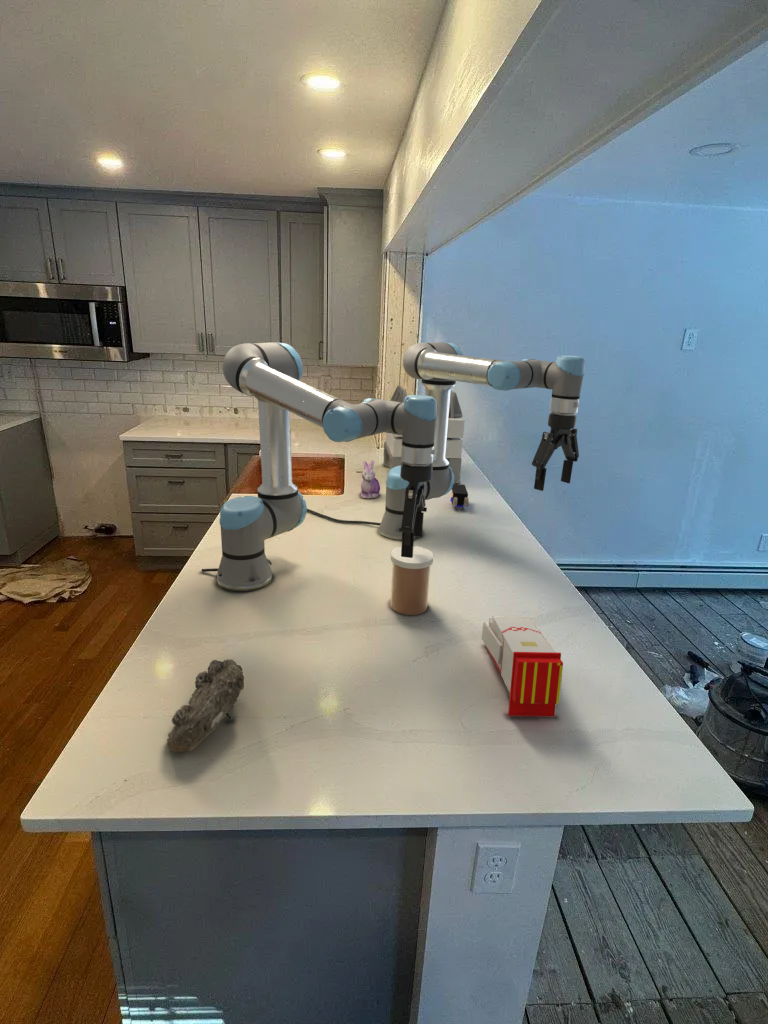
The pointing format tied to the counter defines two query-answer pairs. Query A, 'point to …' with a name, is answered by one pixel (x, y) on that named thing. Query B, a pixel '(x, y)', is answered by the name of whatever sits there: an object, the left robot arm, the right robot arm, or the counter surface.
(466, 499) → the figurine character
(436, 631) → the counter surface
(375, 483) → the figurine
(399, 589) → the jar
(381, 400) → the left robot arm
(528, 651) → the toy
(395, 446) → the white wooden crate
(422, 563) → the lid
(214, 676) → the fossil
